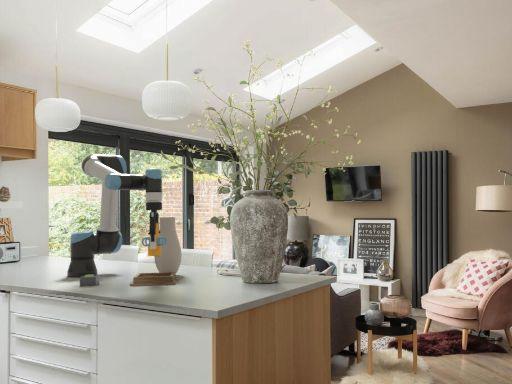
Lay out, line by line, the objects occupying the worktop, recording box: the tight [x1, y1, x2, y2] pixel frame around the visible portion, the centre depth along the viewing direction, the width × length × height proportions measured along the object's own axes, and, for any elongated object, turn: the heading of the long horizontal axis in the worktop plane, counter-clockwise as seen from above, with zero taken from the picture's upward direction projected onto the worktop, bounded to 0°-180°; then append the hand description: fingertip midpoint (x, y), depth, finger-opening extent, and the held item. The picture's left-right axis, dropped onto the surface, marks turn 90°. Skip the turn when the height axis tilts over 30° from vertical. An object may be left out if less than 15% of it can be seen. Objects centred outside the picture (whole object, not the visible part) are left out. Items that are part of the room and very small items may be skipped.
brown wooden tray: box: [129, 272, 179, 287], centre depth 237 cm, size 19×20×4 cm
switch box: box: [79, 274, 100, 288], centre depth 232 cm, size 7×7×4 cm
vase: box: [153, 216, 182, 275], centre depth 263 cm, size 14×14×30 cm
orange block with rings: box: [141, 223, 167, 257], centre depth 238 cm, size 12×10×15 cm
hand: (154, 248), depth 238 cm, fingers closed on orange block with rings, 12 cm apart
